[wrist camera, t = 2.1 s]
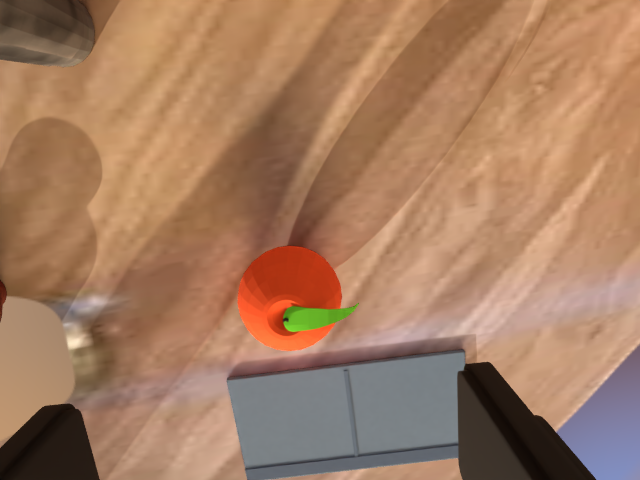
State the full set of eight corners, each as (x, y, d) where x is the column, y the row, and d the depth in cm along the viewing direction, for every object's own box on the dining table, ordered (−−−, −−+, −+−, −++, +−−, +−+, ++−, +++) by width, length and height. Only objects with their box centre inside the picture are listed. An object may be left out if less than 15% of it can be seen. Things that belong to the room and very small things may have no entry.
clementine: (353, 234, 29) (365, 264, 22) (352, 321, 31) (362, 373, 24) (244, 235, 29) (222, 264, 22) (249, 322, 31) (230, 374, 24)
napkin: (463, 349, 32) (465, 352, 31) (468, 453, 34) (470, 458, 34) (227, 377, 32) (226, 381, 32) (249, 478, 35) (248, 483, 34)
